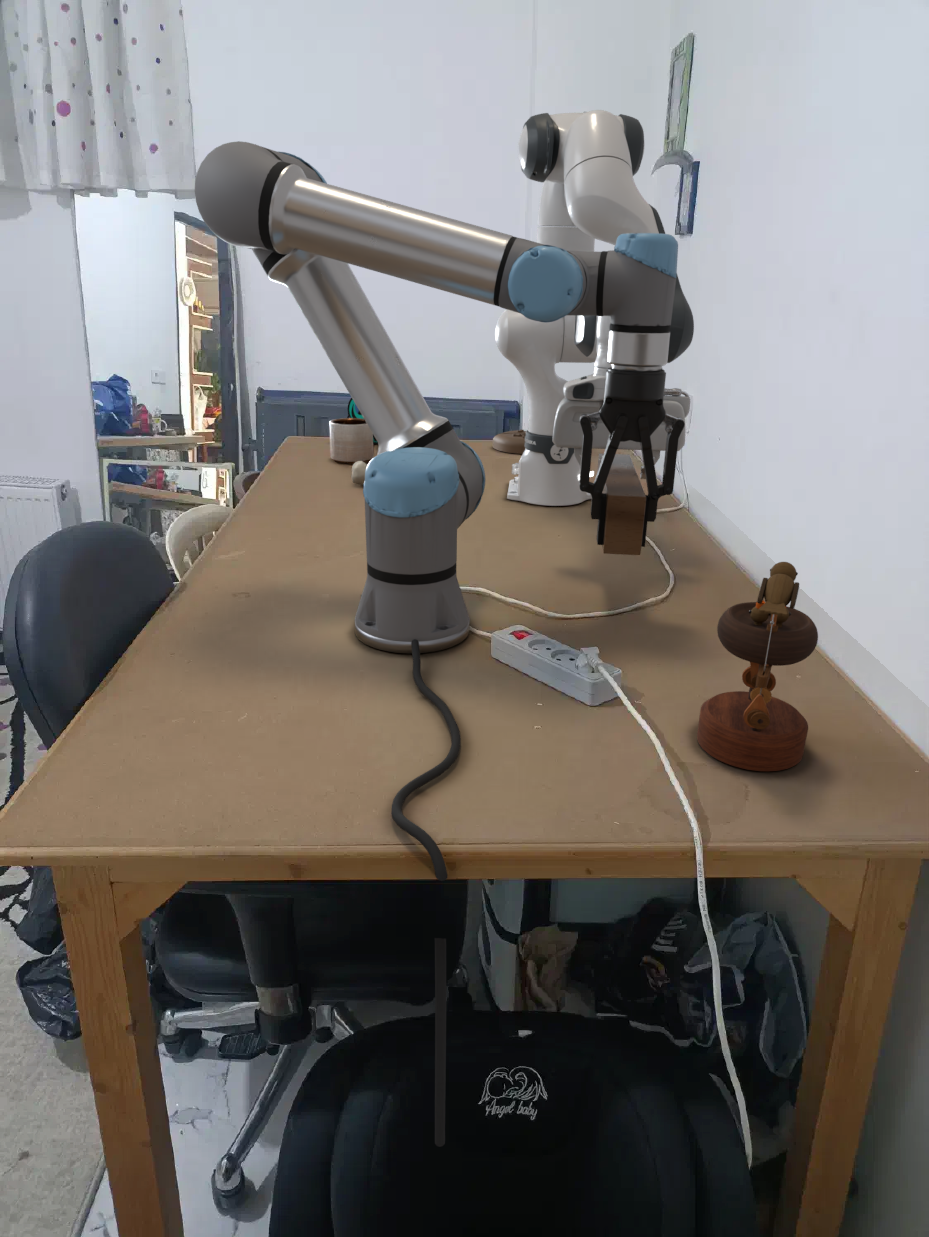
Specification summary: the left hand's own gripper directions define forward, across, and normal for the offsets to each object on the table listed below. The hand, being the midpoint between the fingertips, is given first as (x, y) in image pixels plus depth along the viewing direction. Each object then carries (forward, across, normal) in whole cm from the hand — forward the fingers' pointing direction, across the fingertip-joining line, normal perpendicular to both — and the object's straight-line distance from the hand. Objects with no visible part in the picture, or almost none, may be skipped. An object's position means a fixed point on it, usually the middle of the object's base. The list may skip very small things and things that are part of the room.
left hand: (620, 542), depth 116 cm
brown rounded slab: (+11, +14, -114) cm, 115 cm away
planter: (+11, +60, -96) cm, 114 cm away
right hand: (-4, 0, -20) cm, 21 cm away
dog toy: (+11, +44, -73) cm, 86 cm away
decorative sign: (+11, +61, -119) cm, 134 cm away
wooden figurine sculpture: (+11, -12, +34) cm, 37 cm away
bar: (+1, 0, -10) cm, 10 cm away
